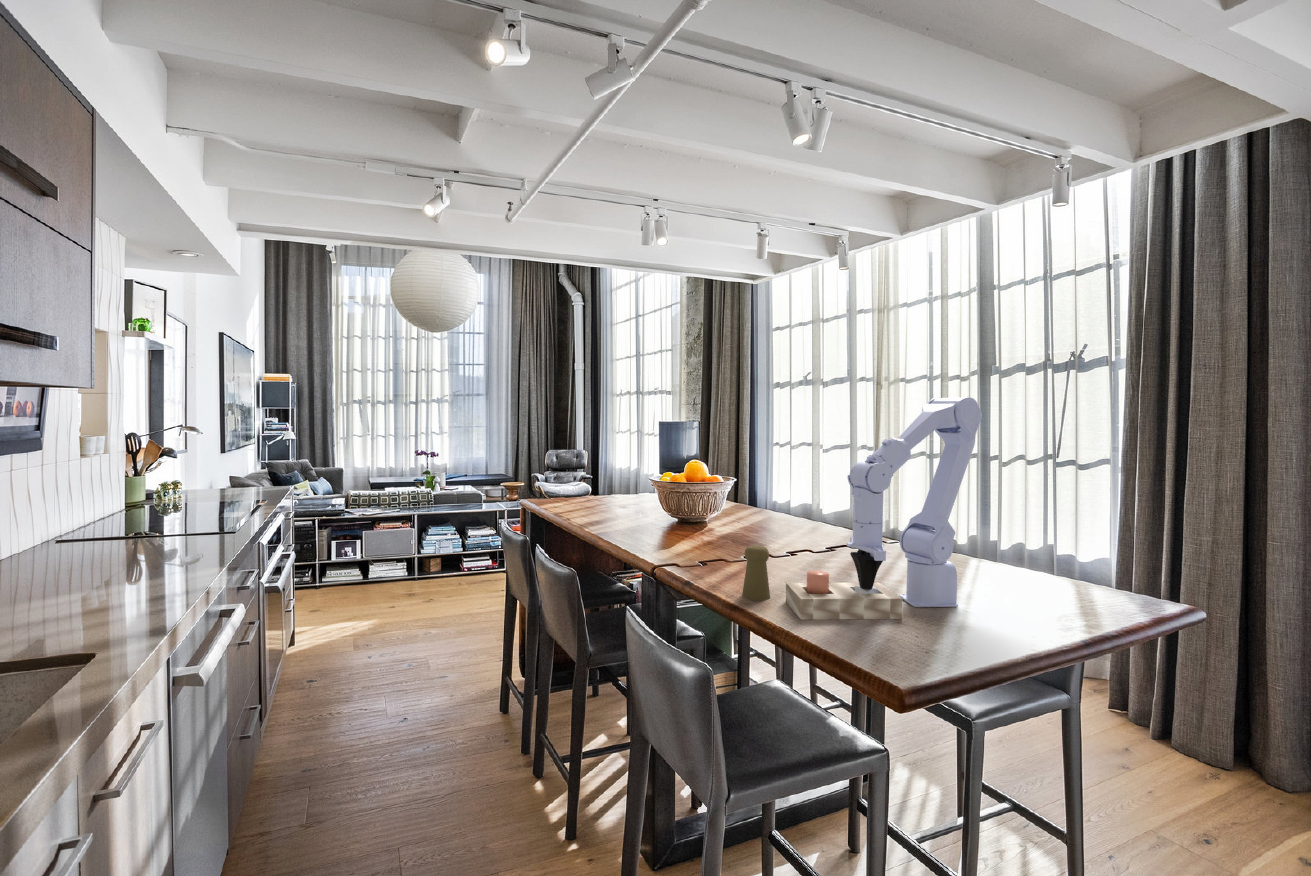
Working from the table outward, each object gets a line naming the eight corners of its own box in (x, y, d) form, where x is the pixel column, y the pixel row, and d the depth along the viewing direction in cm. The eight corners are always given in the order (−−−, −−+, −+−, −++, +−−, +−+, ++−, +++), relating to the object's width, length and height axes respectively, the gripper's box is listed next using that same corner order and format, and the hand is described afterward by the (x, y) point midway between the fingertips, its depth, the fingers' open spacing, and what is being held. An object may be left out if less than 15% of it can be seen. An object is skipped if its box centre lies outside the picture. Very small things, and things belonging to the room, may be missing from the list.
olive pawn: (769, 601, 142) (770, 549, 142) (741, 599, 143) (741, 548, 143) (770, 593, 148) (771, 544, 148) (743, 591, 149) (743, 542, 149)
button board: (878, 601, 143) (879, 582, 143) (902, 618, 131) (902, 598, 131) (785, 601, 142) (786, 582, 142) (800, 619, 130) (801, 599, 130)
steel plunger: (872, 604, 139) (872, 585, 139) (880, 610, 135) (881, 590, 134) (851, 604, 139) (851, 585, 139) (858, 610, 134) (859, 590, 134)
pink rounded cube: (825, 589, 138) (825, 570, 138) (831, 595, 134) (832, 576, 134) (803, 589, 138) (804, 570, 138) (809, 596, 134) (810, 576, 134)
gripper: (836, 515, 143) (835, 579, 144) (861, 528, 128) (859, 598, 129) (869, 516, 143) (867, 579, 144) (897, 528, 129) (895, 598, 129)
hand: (866, 588), depth 137 cm, fingers closed, pressing on steel plunger
